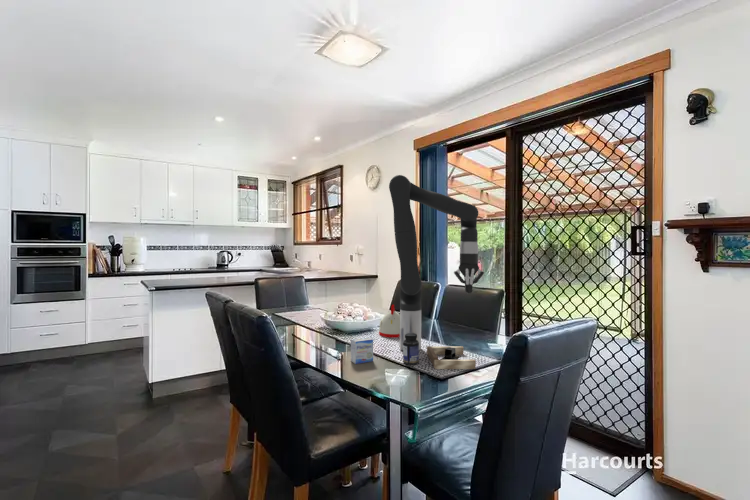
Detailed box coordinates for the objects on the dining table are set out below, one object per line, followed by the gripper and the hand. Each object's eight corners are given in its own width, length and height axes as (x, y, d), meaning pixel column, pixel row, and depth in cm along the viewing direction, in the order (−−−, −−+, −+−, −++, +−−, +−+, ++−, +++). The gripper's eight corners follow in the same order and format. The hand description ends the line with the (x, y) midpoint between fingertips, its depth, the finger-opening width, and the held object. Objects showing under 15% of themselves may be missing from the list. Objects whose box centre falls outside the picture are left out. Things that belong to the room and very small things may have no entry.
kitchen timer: (377, 337, 186) (377, 306, 185) (381, 330, 199) (381, 302, 199) (405, 338, 183) (405, 307, 183) (407, 331, 197) (407, 302, 197)
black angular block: (448, 354, 159) (448, 343, 159) (464, 357, 155) (465, 346, 155) (435, 362, 149) (435, 350, 149) (452, 365, 145) (453, 353, 145)
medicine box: (355, 364, 144) (355, 341, 144) (350, 361, 148) (350, 339, 148) (373, 361, 148) (373, 339, 148) (368, 358, 152) (368, 336, 152)
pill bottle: (420, 361, 148) (420, 333, 148) (417, 365, 143) (417, 336, 142) (405, 359, 150) (405, 331, 150) (401, 364, 145) (401, 335, 144)
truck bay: (434, 369, 139) (435, 359, 139) (426, 353, 158) (426, 345, 158) (475, 368, 139) (475, 359, 139) (462, 353, 158) (462, 345, 158)
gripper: (481, 252, 164) (481, 292, 164) (451, 252, 164) (451, 292, 164) (487, 252, 156) (486, 294, 157) (455, 252, 156) (455, 294, 156)
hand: (468, 293), depth 160 cm, fingers closed
